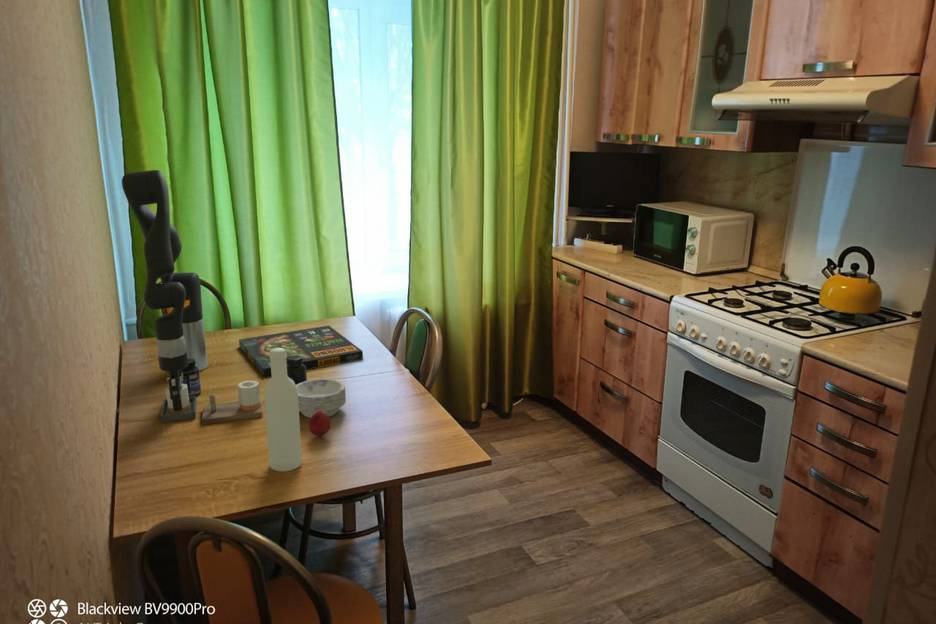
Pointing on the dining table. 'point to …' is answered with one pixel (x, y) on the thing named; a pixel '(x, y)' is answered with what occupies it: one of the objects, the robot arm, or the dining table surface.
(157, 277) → the robot arm
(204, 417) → the pin board
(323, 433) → the onion
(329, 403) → the paper bowls
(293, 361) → the supplement bottle
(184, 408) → the sleeve
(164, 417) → the feeder tray
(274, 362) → the bottle
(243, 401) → the seated sleeve
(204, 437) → the dining table surface
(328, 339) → the pizza box
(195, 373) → the pill bottle
